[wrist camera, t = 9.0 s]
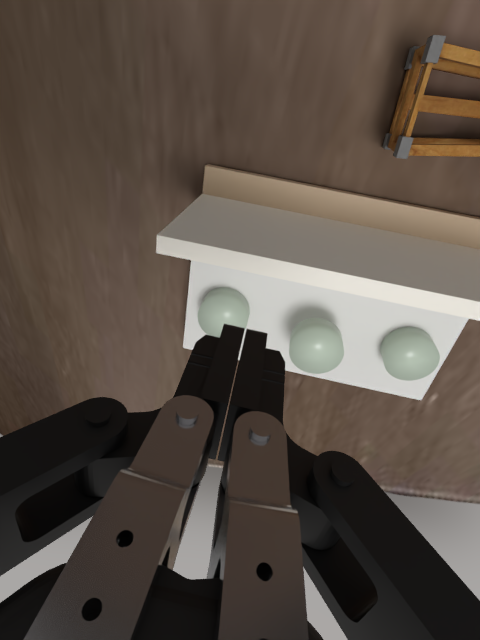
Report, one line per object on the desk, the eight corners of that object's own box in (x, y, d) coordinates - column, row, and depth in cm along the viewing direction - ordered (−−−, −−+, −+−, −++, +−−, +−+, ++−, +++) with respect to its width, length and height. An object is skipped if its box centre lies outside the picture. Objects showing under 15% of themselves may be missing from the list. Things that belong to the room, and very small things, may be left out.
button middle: (284, 354, 36) (283, 367, 34) (296, 313, 33) (296, 324, 31) (333, 365, 35) (334, 378, 34) (348, 324, 33) (351, 336, 31)
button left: (200, 324, 38) (195, 334, 36) (205, 282, 35) (200, 292, 34) (245, 334, 38) (242, 345, 36) (253, 293, 35) (251, 303, 33)
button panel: (190, 332, 42) (183, 347, 40) (200, 233, 36) (192, 243, 34) (414, 381, 41) (421, 400, 39) (465, 288, 35) (477, 302, 32)
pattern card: (203, 208, 35) (155, 258, 24) (207, 163, 33) (158, 196, 22) (478, 264, 34) (563, 344, 23) (501, 221, 31) (607, 286, 20)
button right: (373, 361, 37) (376, 374, 35) (390, 322, 34) (395, 333, 33) (420, 372, 37) (426, 385, 35) (442, 333, 34) (449, 345, 33)
